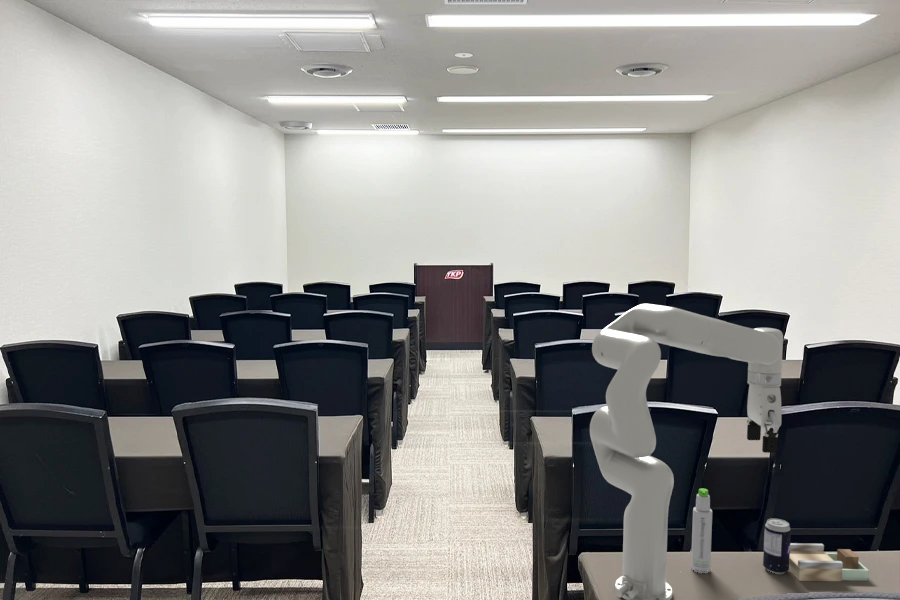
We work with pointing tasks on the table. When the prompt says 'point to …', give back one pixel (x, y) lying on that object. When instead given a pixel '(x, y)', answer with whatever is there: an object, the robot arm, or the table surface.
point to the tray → (852, 571)
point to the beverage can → (777, 546)
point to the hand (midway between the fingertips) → (761, 445)
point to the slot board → (813, 563)
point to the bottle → (701, 533)
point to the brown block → (847, 558)
